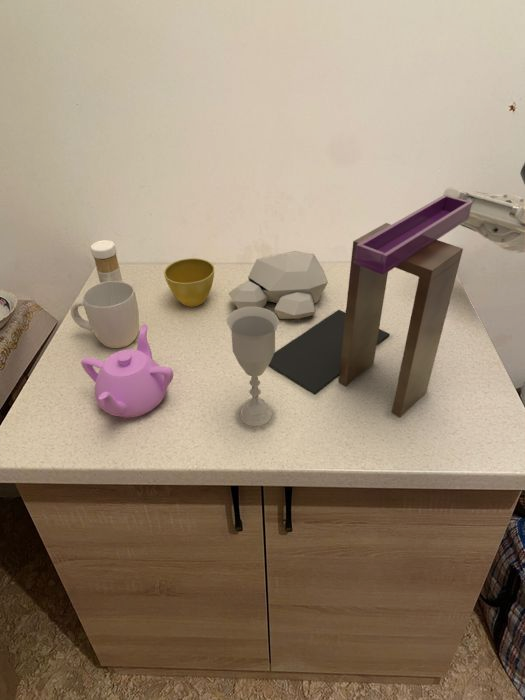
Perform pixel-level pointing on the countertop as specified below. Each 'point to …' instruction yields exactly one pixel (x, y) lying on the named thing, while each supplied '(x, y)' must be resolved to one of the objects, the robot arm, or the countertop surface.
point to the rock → (283, 284)
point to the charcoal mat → (315, 354)
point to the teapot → (129, 380)
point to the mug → (110, 313)
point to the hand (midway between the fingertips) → (486, 203)
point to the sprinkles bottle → (106, 261)
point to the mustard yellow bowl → (190, 280)
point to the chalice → (253, 355)
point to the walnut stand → (425, 324)
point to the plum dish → (411, 234)
